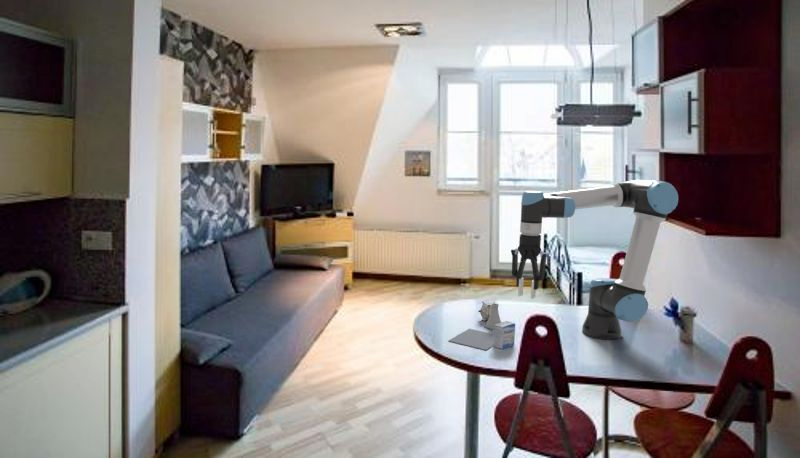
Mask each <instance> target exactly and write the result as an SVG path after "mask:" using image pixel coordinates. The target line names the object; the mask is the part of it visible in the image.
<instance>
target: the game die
mask: <svg viewBox="0 0 800 458" xmlns="http://www.w3.org/2000/svg"><path fill="white" fill-rule="evenodd" d="M481 303H482V305H481V308H480V309H478V311H477V312H478V313H480V315H481V317H482V319H481V321H482V322H484V320H487V321H488V319H489V316H490V314H491V310H492V306H491V304H492V303H489V302H488V303H486V302H484V301H482V302H481ZM493 303H496V302H495V301H494V302H493Z"/></svg>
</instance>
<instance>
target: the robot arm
mask: <svg viewBox="0 0 800 458" xmlns="http://www.w3.org/2000/svg"><path fill="white" fill-rule="evenodd" d="M678 203H679V194H678V191H677V190H676V188H675V186H674V185H672V183H670V182H667V181H662V180H651V179H634V180H629V181H621V182H615V183H612V184H610V186H603V187H602V186H601V187H593V188H585V189H577V190H576V189H575V190H568V191H558V192H550V193H544V192H543V191H537V190H526V191H523V193H522V196H521V203H520V204H521V207H520V209H521V211H520V224H519V225H520V226H519V232H520V234H519V241H518V243H519V244H518V247H517V248H512V249H511V250H510V252H511V256H512V258H511V259H512V260H511V262H512V263H511V276H512V277H515V278H516V285H515V286H516V287H518V293H517V294H518V297H522V296H523V295H524V277H523V273H524V270H525V266H526V262H527V260H529V261H530V263H531V268H532V269H531V271H532V275H533V279H532V280H531V288H530V289H531V290H530V299H534V298H535V299H536V293H537V292H536V291H537V290H538V289H539V283H540V281H542V280H544V279H545V276H546V275H545V274H546V266H547V265H546V264H547V263H546V262H547V259H548V256H549V253H548V252H544V251H542V247H541V243H542V241H541V240H542V236H541V234H542V229H543V228H542V226H543V225H542V223H543V218H544V219H546V218H549V219H550V218H551V219H552V218H554V219H555V218H556V219H557V218H559V219H565V218H572V217H573V216H574V215H575V212H576V210H583V209H584V210H585V209H591V208H599V207H600V208H601V207H610V206H612V207H614V208H631V209H633V212H632V213H633V215H634V217H635V221H634V224H633V227H632V232H631V235H630V239H629V243H628V246H627V250H626V254H625V257H624V260H623V264H622V269H621V272H620V275H619V278H607V277H606V278H605V277H603V278H602V277H601V278H593V279H592V280H591V281H590V284H589V295H588V297H589V298H588V307H587V308H588V310H587V315H586V318H585V319H584V322H583V325H582V330H581V331H582V333H583V334H584V335H586V336H588V337H592V338H593V339H599V338H601V339H600V340H609V339H611V340H618V339H620V338H621V337H622V333H623V332H622V328H621V327H622V326H621V323H620V321H623V322H626V323H634V322H637V321H639V320H642V318H644V317H645V315H646V314H647V313H648V310H649V301H648V300H647V297H645V296H646V292H647V289H646V287H645V285H644V284H645V283H644V282H645V279H646V276H647V271H648V268H649V265H650V261H651V258H652V254H653V250H654V248H655V247H654V246H655V243H656V239H657V236H658V233H659V228H660V226H661V224H662V222H664V221H666V220H667V216H668V214H671V213H672V212H673V211H674V210H675V209H676V207H677V206H678V205H679V204H678ZM519 254H520V256H521V257H520V262H519ZM538 256H539V257H540V260H539V261H540V263H539V266H538ZM518 262H519V263H518ZM619 337H620V338H619ZM617 338H618V339H617Z"/></svg>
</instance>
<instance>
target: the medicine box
mask: <svg viewBox="0 0 800 458" xmlns="http://www.w3.org/2000/svg"><path fill="white" fill-rule="evenodd" d="M492 334H493V346H492V347H494V348H497V349H501V350H504V349H507V348H509V347H512V346H514V345H515V341H516V340H515V336H516V323H515V322H512V321H507V320H506V321H501V323H499V324H495V325H494V329H493V333H492Z"/></svg>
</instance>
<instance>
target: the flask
mask: <svg viewBox="0 0 800 458" xmlns="http://www.w3.org/2000/svg"><path fill="white" fill-rule="evenodd" d="M490 304H491V306H492V310H491V314H490V316H489V319H488V320H487V321H486V324H485V327H486V328H487V329H488V330H489V329H490V330H494V325H495V324H499V323H502V321H501V318H500V313H499V307H500V306H499V305H500V304H499V303H496V302H495V303H494V302H493V303H490Z"/></svg>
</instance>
